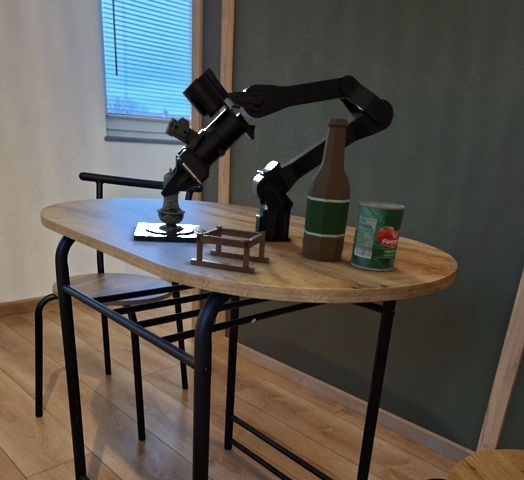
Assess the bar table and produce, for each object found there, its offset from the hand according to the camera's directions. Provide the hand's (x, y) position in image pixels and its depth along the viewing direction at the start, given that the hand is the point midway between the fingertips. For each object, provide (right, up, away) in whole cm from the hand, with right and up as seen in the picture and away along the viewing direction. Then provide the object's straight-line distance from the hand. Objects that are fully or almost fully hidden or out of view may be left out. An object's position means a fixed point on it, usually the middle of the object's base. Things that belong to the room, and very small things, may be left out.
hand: (162, 192), depth 96 cm
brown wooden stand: (+15, -17, -15) cm, 27 cm away
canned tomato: (+40, -17, -9) cm, 45 cm away
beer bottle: (+32, -14, -5) cm, 35 cm away
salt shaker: (+1, -7, +3) cm, 8 cm away
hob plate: (+1, -8, +4) cm, 9 cm away
